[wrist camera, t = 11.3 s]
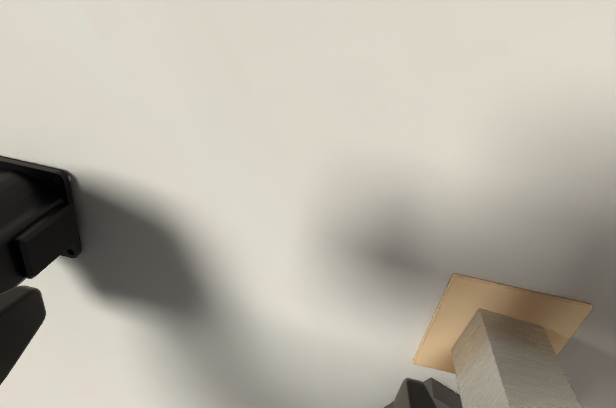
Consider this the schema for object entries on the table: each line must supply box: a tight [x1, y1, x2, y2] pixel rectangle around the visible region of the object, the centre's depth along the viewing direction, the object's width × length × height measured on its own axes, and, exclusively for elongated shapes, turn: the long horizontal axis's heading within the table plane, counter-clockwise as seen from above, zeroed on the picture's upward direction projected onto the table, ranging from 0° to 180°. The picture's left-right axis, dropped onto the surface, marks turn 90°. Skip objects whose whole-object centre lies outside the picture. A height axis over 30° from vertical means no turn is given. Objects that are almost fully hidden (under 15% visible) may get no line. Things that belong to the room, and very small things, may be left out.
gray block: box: [451, 308, 581, 408], centre depth 21 cm, size 4×4×9 cm
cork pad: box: [413, 274, 593, 374], centre depth 25 cm, size 8×8×1 cm
